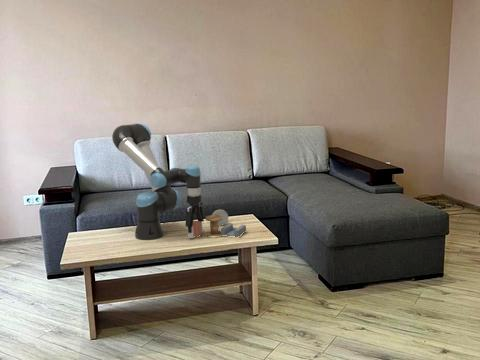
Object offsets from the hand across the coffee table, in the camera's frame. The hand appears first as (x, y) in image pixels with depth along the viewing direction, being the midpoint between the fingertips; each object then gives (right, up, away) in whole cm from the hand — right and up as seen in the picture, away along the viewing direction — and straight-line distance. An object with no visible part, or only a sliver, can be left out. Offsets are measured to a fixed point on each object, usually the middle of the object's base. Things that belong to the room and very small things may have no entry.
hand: (195, 235), depth 270 cm
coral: (+13, +4, +21) cm, 25 cm away
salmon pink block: (0, 0, 0) cm, 0 cm away
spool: (+10, 0, +1) cm, 10 cm away
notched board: (+20, +1, +2) cm, 21 cm away
